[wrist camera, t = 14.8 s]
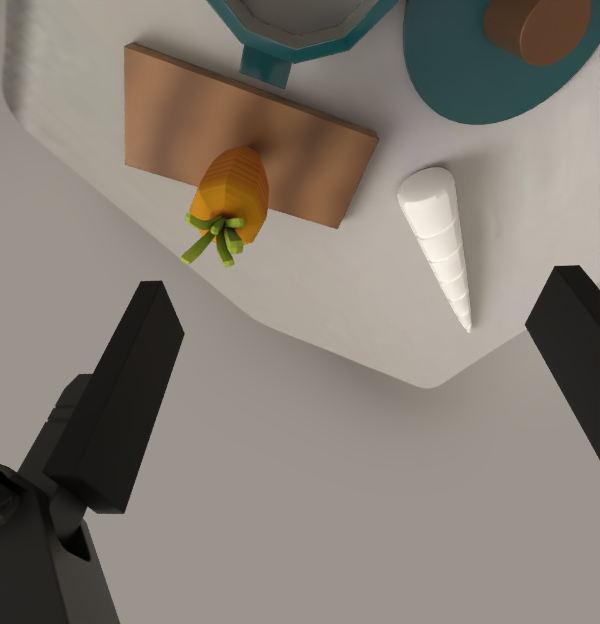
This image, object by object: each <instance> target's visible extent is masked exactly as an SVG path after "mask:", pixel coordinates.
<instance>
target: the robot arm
mask: <svg viewBox="0 0 600 624" xmlns="http://www.w3.org/2000/svg"><path fill="white" fill-rule="evenodd" d="M525 326H526V328H527V330H528V331H529V333H530V335H531V337H532V339H533V340H534V342H535V344H536V346H537V348H538V349H539V351H540V353H541V355H542V357H543V358H544V360H545V362H546V364H547V366H548V367H549V369H550V371H551V373H552V375H553V376H554V378H555V380H556V382H557V384H558V385H559V387H560V389H561V391H562V392H563V394H564V396H565V398H566V400H567V402H568V403H569V405H570V407H571V409H572V411H573V412H574V414H575V416H576V418H577V420H578V421H579V423H580V425H581V427H582V429H583V430H584V432H585V434H586V436H587V437H588V439H589V441H590V443H591V445H592V447H593V448H594V450H595V452H596V454H597V456H598V458H599V459H600V290H599V288H598V287H597V286H596V285H595V283H594V282H593V281H592V280H591V279H590V277H589V276H588V275H587V274H586V273H585V271H584V270H583V269H582V268H581V267H580V265H573V266H554V268H553V270H552V272H551V274H550V276H549V278H548V280H547V282H546V284H545V286H544V288H543V290H542V292H541V294H540V296H539V298H538V300H537V302H536V304H535V306H534V307H533V309H532V311H531V313H530V315H529V317H528V319H527V321H526V323H525ZM183 337H184V331H183V329H182V326H181V324H180V322H179V319H178V317H177V315H176V312H175V310H174V308H173V305H172V303H171V301H170V299H169V296H168V294H167V291H166V289H165V286H164V284H163V282H162V281H141V282H140V284H139V286H138V288H137V290H136V292H135V294H134V296H133V298H132V299H131V301H130V303H129V305H128V307H127V309H126V311H125V313H124V315H123V317H122V319H121V321H120V323H119V324H118V326H117V328H116V330H115V332H114V334H113V336H112V338H111V340H110V342H109V344H108V346H107V348H106V349H105V351H104V353H103V355H102V357H101V359H100V361H99V363H98V365H97V367H96V369H95V371H94V373H93V374H79V375H78V376H77V377H76V378H75V379H74V380H73V381H72V382H71V383H70V384H69V385H68V386H67V387H66V388H65V389H64V391H63V392H62V394H61V396H60V398H59V400H58V401H57V403H56V407H55V408H54V409H53V410H52V412H51V414H50V416H49V417H48V422H45V424H44V426H43V428H42V429H41V431H40V433H39V435H38V437H37V438H36V440H35V442H34V444H33V446H32V447H31V449H30V451H29V453H28V454H27V456H26V458H25V460H24V461H23V463H22V465H21V467H20V468H19V470H18V472H15V471H14V470H12V469H11V468H9V467H7V466H4V465H1V464H0V624H120V622H119V619H118V616H117V613H116V610H115V607H114V604H113V601H112V598H111V595H110V592H109V589H108V586H107V583H106V580H105V577H104V574H103V571H102V568H101V565H100V562H99V559H98V556H97V553H96V550H95V547H94V544H93V542H92V538H91V535H90V533H89V529H88V527H87V523H86V522H85V521H84V519H83V516H84V514H85V511H86V509H87V506H88V507H89V508H90V509H92V510H93V511H95V512H96V513H97V514H100V513H101V514H124V513H125V510H126V507H127V504H128V501H129V498H130V495H131V492H132V489H133V486H134V483H135V480H136V477H137V474H138V471H139V468H140V465H141V462H142V459H143V456H144V453H145V450H146V447H147V444H148V441H149V438H150V435H151V432H152V429H153V426H154V423H155V420H156V417H157V414H158V411H159V408H160V406H161V403H162V399H163V397H164V394H165V391H166V388H167V384H168V382H169V378H170V376H171V373H172V370H173V367H174V364H175V361H176V358H177V355H178V352H179V349H180V346H181V343H182V340H183Z"/></svg>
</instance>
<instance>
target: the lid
mask: <svg viewBox="0 0 600 624" xmlns="http://www.w3.org/2000/svg"><path fill="white" fill-rule="evenodd" d="M599 43H600V0H407V3H406V9H405V16H404V22H403V48H404V56H405V62H406V67H407V70H408V73H409V76H410V79H411V81H412V83H413V85H414V87H415V89H416V91H417V92H418V93H419V95H420V96H421V98H422V99H423V100H424V102H425V103H426V104H427V105H428V106H429V107H430V108H431V109H432V110H434V111H435V112H437V113H438V114H439V115H441V116H443V117H445V118H447V119H449V120H452V121H455V122H459V123H464V124H471V125H483V124H490V123H496V122H500V121H504V120H508V119H510V118H513V117H515V116H518V115H520V114H522V113H524V112H526V111H528V110H530V109H532V108H534V107H535V106H537V105H539V104H540V103H542V102H543V101H545V100H546V99H548V98H549V97H550V96H552V95H553V94H554V93H555V92H557V91H558V90H559V89H560V88H561V87H562V86H564V85H565V84H566V83H567V82H568V81H569V80H570V79H571V78H572V77H573V76H574V75H575V74H576V73H577V72H578V71H579V70H580V68H581V67H582V66H583V65H584V64H585V62H586V61H587V60H588V59H589V57H590V56H591V55H592V54H593V52H594V51H595V49H596V48H597V46H598V45H599Z"/></svg>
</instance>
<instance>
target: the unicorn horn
mask: <svg viewBox="0 0 600 624" xmlns="http://www.w3.org/2000/svg"><path fill="white" fill-rule="evenodd" d="M397 197H398V201H399V204H400V207H401V209H402V211H403V213H404V215H405V216H406V218H407V220H408V222H409V224H410V226H411V228H412V230H413V232H414V234H415V235H416V238H417V240H418V242H419V244H420V246H421V248H422V250H423V252H424V254H425V256H426V258H427V260H428V262H429V264H430V266H431V268H432V270H433V272H434V274H435V276H436V278H437V280H438V281H439V284H440V286H441V288H442V290H443V292H444V294H445V295H446V297H447V298H448V301H449V303H450V305H451V306H452V308H453V310H454V312H455V314H456V315H457V317H458V319H459V320H460V322H461V323H462V325H463V327H464V328H467V332H469V333H470V332H471V329H472V322H471V308H470V298H469V289H468V281H467V272H466V264H465V257H464V249H463V241H462V236H461V226H460V219H459V211H458V206H457V196H456V188H455V182H454V178H453V176H452V174H451V172H450V171H448V170H446V169H444V168H442V167H432V168H428V169H424V170H421V171H419V172H417V173H414V174H412V175H411V176H410V177H408V178H407V179H405V180H404V182H403V183H402V184H401V186H400V187H399V191H398V195H397Z"/></svg>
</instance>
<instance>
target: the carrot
mask: <svg viewBox="0 0 600 624" xmlns="http://www.w3.org/2000/svg"><path fill="white" fill-rule="evenodd" d="M268 200H269V186H268V180H267V176H266V172H265V169H264V166H263V163H262V161H261V158H260V155H259V154H258V153H257V152H256V151H255V150H253V149H251V148H249V147H247V146H245V145H243V146H239V147H236V148H233V149H229V150H226V151H225V152H223V153H222V154H220V155H219V156H218V157H217V158H216V159H215V160H213V162H212V163H211V165H210V166H209V168H208V170H207V171H206V173H205V175H204V177H203V178H202V180H201V182H200V184H199V187H198V189H197V192H196V194H195V197H194V200H193V202H192V205H191V208H190V214H189V213H186V216H185V221H186V222H187V223H189V224H190V225H191V226H193V227H195V228H197V229H198V230H199V231H200V233H201V235H202V238H201V239H200V240H199V241H197V242H196V243H195V244H194V245H193V246H192V247H191V248H190V249H189V250H188V251H186V252H185V253H184V254H183V255H182V256H181V258H180V259H181V260H182V261H183V262H184V263H186V264H190V263H191V262H193V261H194V260H195V259H196V258H197V257H198V256H199V255H200V254H201V253H202V252H203V251H204V249H205V248H206V247H207V246H208V244H209V243H210V242H211V241H212V242H215V243H217V251H218V254H219V257H220V259H221V261H222V263H223V264H224V266H225V267H229V266H232V265H234V260H233V258H232V256H231V254H238V253H242V252H243V245H244V244H248V243H252V242H253V241H254V239H255V237H256V236H257V234H258V232H259V230H260V228H261V227H262V225H263V223H264V221H265V219H266V217H267V209H268ZM228 250H229V251H228ZM230 253H231V254H230Z"/></svg>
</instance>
